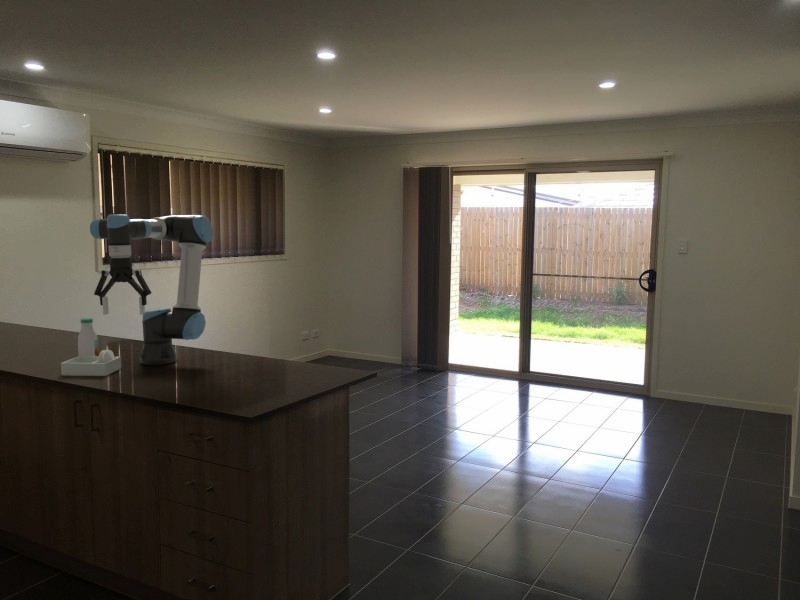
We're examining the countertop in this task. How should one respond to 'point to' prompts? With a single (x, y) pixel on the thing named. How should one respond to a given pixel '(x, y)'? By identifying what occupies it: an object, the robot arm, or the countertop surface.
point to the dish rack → (92, 365)
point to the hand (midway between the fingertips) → (124, 314)
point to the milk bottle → (87, 339)
